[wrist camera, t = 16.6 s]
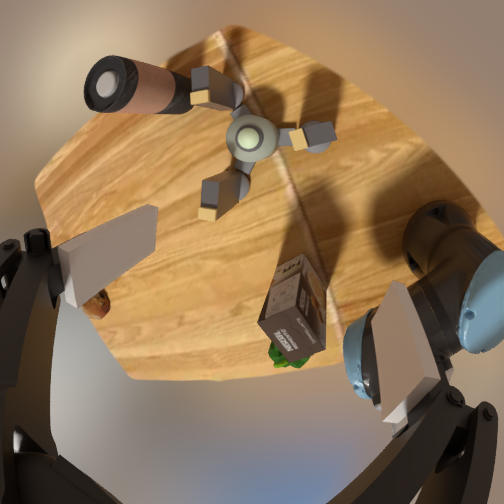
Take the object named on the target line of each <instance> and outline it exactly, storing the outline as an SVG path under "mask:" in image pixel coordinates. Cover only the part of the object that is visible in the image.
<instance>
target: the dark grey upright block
mask: <svg viewBox="0 0 504 504" xmlns="http://www.w3.org/2000/svg"><path fill="white" fill-rule="evenodd" d="M289 135H290V138H291V141H292V144H293V147H294V150H295V151H298V150H301V149H305V150H306V151H308V152H311V153H320V152H323V151H325V150H326V149H327V148H328V147H329V145H330V143H331V141H335V140H337V137H336V134H335V131H334V127H333V124H332V121H328V122H324V123H322V122H319V121H309V122H306V123H305V124H303V125H302V126H301V128H300V129H297V130H294V131H290V132H289Z"/></svg>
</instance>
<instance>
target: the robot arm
mask: <svg viewBox="0 0 504 504" xmlns="http://www.w3.org/2000/svg"><path fill="white" fill-rule="evenodd" d="M157 216H158V207H155V206H152V205H149V204H147V205H144V206H142V207H140V208H137V209H135V210H133V211H130V212H128V213H126V214H124V215H121V216H119V217H117V218H115V219H112V220H110V221H108V222H106V223H104V224H102V225H100V226H97V227H95V228H93V229H91V230H89V231H87V232H84V233H82V234H80V235H78V236H77V237H74V238H72V239H71V240H68V241H66V242H64V243H62V244H60V245H58V246H56V247H55V248H53V249H51V241H50V232H49V231H48V230H47V229H44V228H38V229H33V230H30V231H28V232H26V233H25V234H24V242H25V248H26V252H25V251H21V245H20V241H19V240H16V239H8V240H6V241H4V242H2V243H1V244H0V504H122V503H121V502H120V501H119V500H118V499H117V498H116V497H114V496H113V495H112V494H111V493H110V492H108V491H107V490H106V489H104V488H103V487H102V486H100V485H99V484H98V483H96V482H95V481H94V480H93V479H91V478H90V477H89V476H87V475H86V474H84V473H83V472H82V471H80V470H79V469H78V468H76V467H75V466H74V465H72V464H71V463H70V462H69V461H67V460H66V459H65V458H64V457H62V456H61V455H59V456H58V452H57V448H56V444H55V442H54V439H53V437H52V434H51V429H50V428H51V427H50V383H51V367H52V366H51V365H52V356H53V345H54V338H55V331H56V324H57V318H58V312H59V307H60V295H59V294H61V293H62V292H63V291H65V296H66V301H67V302H68V303H70V304H71V305H73V306H74V307H76V308H79V307H80V306H81V305H83V304H84V303H85V302H86V301H88V300H89V299H90V298H92V297H93V296H94V295H96V294H97V293H98V292H99V291H101V290H102V289H103V288H105V287H106V286H107V285H109V284H110V283H111V282H113V281H114V280H115V279H117V278H118V277H119V276H121V275H122V274H124V273H125V272H126V271H128V270H129V269H130V268H132V267H133V266H135V265H136V264H137V263H139V262H140V261H141V260H143V259H144V258H146V257H147V256H149V255H150V254H151V253H153V252H154V251H155V243H156V229H157ZM403 254H404V258H405V261H406V263H407V265H408V266H409V268H410V270H411V271H412V273H413V274H414V275H415V276H416V277H417V278H418V279H420V280H418V281H416V282H415V283H413V284H412V285H410V286H409V287H407V288H406V286H405V284H402V283H399V282H396V281H392V283H391V285H390V287H389V289H388V291H387V293H386V295H385V297H384V299H383V301H382V303H381V304H380V305H379V306H377V307H375V308H371V309H370V310H368V311H367V313H366V314H364V315H363V316H361V317H360V318H358V319H357V320H355V321H353V322H352V323H351V324H350V325H349V326H348V328H347V330H346V333H345V336H344V341H343V356H344V363H345V368H346V372H347V375H348V378H349V381H350V383H351V384H353V387H354V391H355V392H356V394H357V395H358V396H360V397H361V398H363V399H372V401H373V404H374V407H375V409H377V410H379V411H382V421H383V422H391V425H392V428H393V432H394V435H393V436H392V437H393V440H392V441H391V442H390V443H389V444H388V445H387V447H386V448H385V449H384V450H383V451H382V452H381V453H380V454H379V456H378V457H377V458H376V459H375V460H374V461H373V462H372V463H371V464H370V465H369V466H368V467H367V468H366V469H365V470H364V471H363V472H362V473H361V474H360V475H359V476H358V477H357V478H356V479H355V480H353V481H352V482H351V483H350V484H349V485H348V486H347V487H346V488H345V489H343V491H341V492H340V493H339V494H338V495H336V496H335V497H334V498H333V499H332V500H330V501H329V502H328V503H327V504H487V501H488V497H489V492H490V488H491V483H492V477H493V471H494V464H495V456H496V446H497V432H498V415H497V412H496V409H495V408H494V406H493V405H491V404H490V403H488V402H486V401H485V402H481V403H480V404H479V405H478V406H477V407H476V408H475V409H474V408H472V407H470V406H467V405H465V399H464V397H463V395H462V393H461V392H460V391H459V390H458V389H457V388H455V387H453V386H450V385H449V381H450V379H451V376H452V373H453V371H454V369H453V366H452V364H451V361H450V357H451V356H452V354H453V355H454V354H455V353H457V352H458V351H460V350H462V349H463V348H464V349H465V350H467V351H468V352H470V353H474V354H479V353H480V352H483V353H484V352H487V351H489V350H491V349H492V348H494V347H495V346H497V345H498V344H499V343H500V342H501V341H502V340H503V339H504V251H502V250H501V249H499V248H498V247H497V246H496V245H495V244H493V243H492V242H491V241H490V240H488V239H487V238H486V237H484V236H483V235H482V234H480V233H479V232H478V231H477V229H476V227H475V225H474V223H473V221H472V219H471V217H470V216H469V214H468V213H467V212H466V211H465V210H464V209H463V208H461V207H460V206H458V205H456V204H455V203H453V202H450V201H445V200H439V201H434V202H431V203H428V204H426V205H425V206H423V207H422V208H420V209H419V210H418V211H417V212H416V213H415V214H414V215H413V217H412V218H411V220H410V221H409V223H408V225H407V227H406V230H405V233H404V237H403ZM3 276H4V279H5V282H6V287H5V288H3V287H2V283H1V279H2V277H3ZM420 286H421V287H420ZM421 288H422V289H421ZM422 290H423V291H422ZM427 299H428V300H427ZM428 301H429V302H428ZM429 303H430V304H429ZM430 305H431V306H430ZM431 307H432V308H431ZM432 309H433V310H432ZM433 311H434V312H433ZM438 322H439V323H438ZM439 324H440V325H439ZM443 333H444V334H443ZM14 450H15V451H16V452H15V453H14Z"/></svg>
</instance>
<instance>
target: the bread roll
mask: <svg viewBox="0 0 504 504" xmlns="http://www.w3.org/2000/svg"><path fill="white" fill-rule="evenodd" d="M81 308H82V310H83V312H84V313H85V314H86V315H87V316H88V318H92V319H97V320H100V319H102V318H103V317H104V316H105V315H106V314H107V313H108V312H109V310H110V303H109V300H108V299H107V297H106V296H105V294H104V293H103V292H102V291H99V292H98V293H97V294H96V295H94V296H93V297H92V298H90V299H89V300H88V301H86V302H85V303H84V304H83V305H81Z"/></svg>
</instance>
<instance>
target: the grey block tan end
mask: <svg viewBox="0 0 504 504" xmlns="http://www.w3.org/2000/svg"><path fill="white" fill-rule="evenodd" d="M249 189H250V183H249V180H248V178H247V177H246V175H245V174H243V173H242V172H240V171H235V170H234V171H230V170H227V171H225V172H222V173H220V174H217V175H214V176H212V177H209V178H207V179H204V180H202V192H201V207H199V217H198V219H202V220H208V221H213V222H215V221H216V220H218V219H219V218H220V217H221V216H223V215H224V214H225V213H226V212H227V211H229V210H230V209H231V208H232V207H234V206H235V205H236V204H237V203H239V200H241V199H243V198H244V197H245V196H246V195H247V194H248V192H249Z"/></svg>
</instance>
